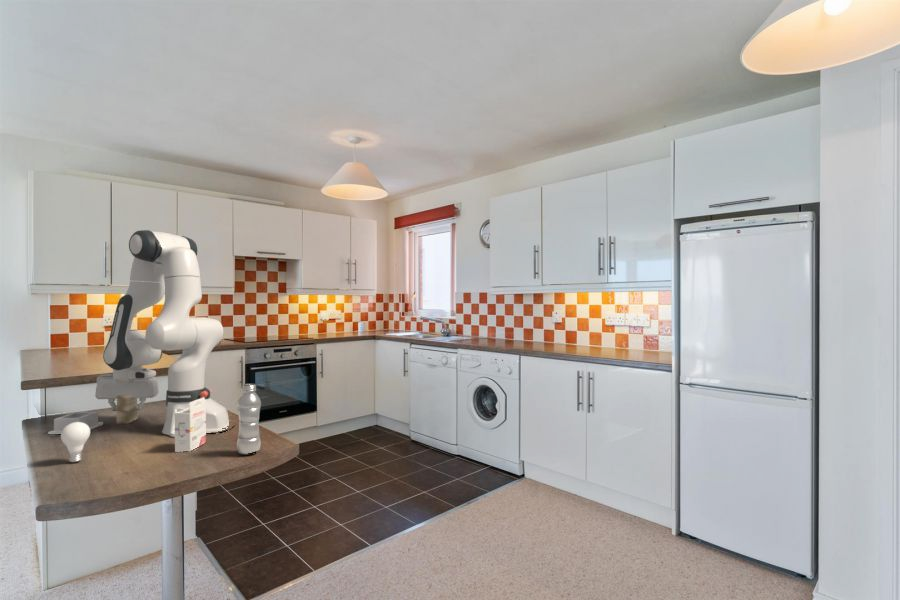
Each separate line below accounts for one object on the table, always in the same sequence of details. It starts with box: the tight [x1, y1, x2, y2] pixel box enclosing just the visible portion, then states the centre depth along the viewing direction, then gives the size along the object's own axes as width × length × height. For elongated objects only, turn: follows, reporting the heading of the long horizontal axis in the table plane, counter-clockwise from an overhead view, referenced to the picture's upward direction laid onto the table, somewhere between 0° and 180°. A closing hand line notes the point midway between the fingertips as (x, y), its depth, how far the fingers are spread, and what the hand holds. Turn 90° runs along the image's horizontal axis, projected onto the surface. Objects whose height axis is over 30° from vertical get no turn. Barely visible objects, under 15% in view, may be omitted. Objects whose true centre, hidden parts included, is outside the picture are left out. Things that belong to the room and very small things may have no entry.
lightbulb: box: [60, 422, 91, 464], centre depth 126 cm, size 6×6×11 cm
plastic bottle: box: [236, 383, 262, 455], centre depth 133 cm, size 6×7×20 cm
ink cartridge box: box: [174, 397, 207, 453], centre depth 138 cm, size 9×5×15 cm, turn 179°
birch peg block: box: [116, 395, 138, 425], centre depth 170 cm, size 4×6×10 cm, turn 8°
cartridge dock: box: [47, 411, 104, 435], centre depth 159 cm, size 10×12×5 cm
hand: (127, 410), depth 170 cm, fingers open, 7 cm apart
